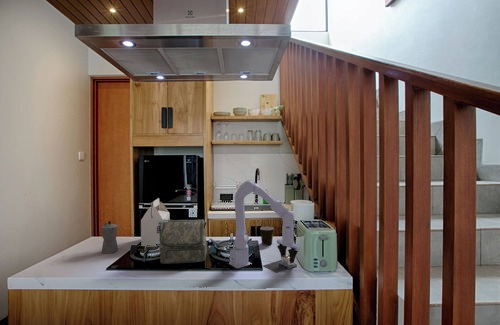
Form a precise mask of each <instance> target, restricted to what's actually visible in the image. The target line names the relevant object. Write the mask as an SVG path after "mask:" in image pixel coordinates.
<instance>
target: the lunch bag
mask: <svg viewBox="0 0 500 325" xmlns="http://www.w3.org/2000/svg"><path fill="white" fill-rule="evenodd" d="M207 223H208V221H205V219H177V220H176V219H175V220H174V219H170V220H165V219H164V220H163V221H162V222H161V221H160V222H159V224H160V226H157V233H160V247H159V250H160V251H159V256H160V257H159V258H160V259H159V260H160V261H159V262H160V264H164V265H165V264H169V265H171V264H187V263H188V264H191V263H201V262H204V261H205V260H206V257H207V254H208V253H207V252H208V250H207V248H208V246H207V234H206V233H207V232H206V230H205V226H207Z"/></svg>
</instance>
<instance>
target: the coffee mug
mask: <svg viewBox="0 0 500 325" xmlns="http://www.w3.org/2000/svg"><path fill="white" fill-rule="evenodd" d="M259 229H260V230H259V231H260V238H261V245H263V246H271V245H273V238H274V227H273V226H261V227H260V228H259Z"/></svg>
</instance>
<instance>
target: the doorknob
mask: <svg viewBox="0 0 500 325" xmlns="http://www.w3.org/2000/svg"><path fill="white" fill-rule="evenodd" d="M285 258H290V256H286V257H285ZM279 266H281V267H283V268H286V269H287V270H290V269H293V268H295V267H297V266H298V263H296V262H294V264H293V265H290V266H287V265H283V264H282V262H281V263H279Z"/></svg>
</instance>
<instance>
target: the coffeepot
mask: <svg viewBox="0 0 500 325" xmlns="http://www.w3.org/2000/svg"><path fill="white" fill-rule="evenodd" d="M100 228H101V235H102V239H103V242H102V247H101V254H104V255H111V254H115V253H118V251H119V248H118V241H117V235H118V229H119V224H114V223H112V221H109V220H108V222H106V223H104V225H102V226H101V227H100Z"/></svg>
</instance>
